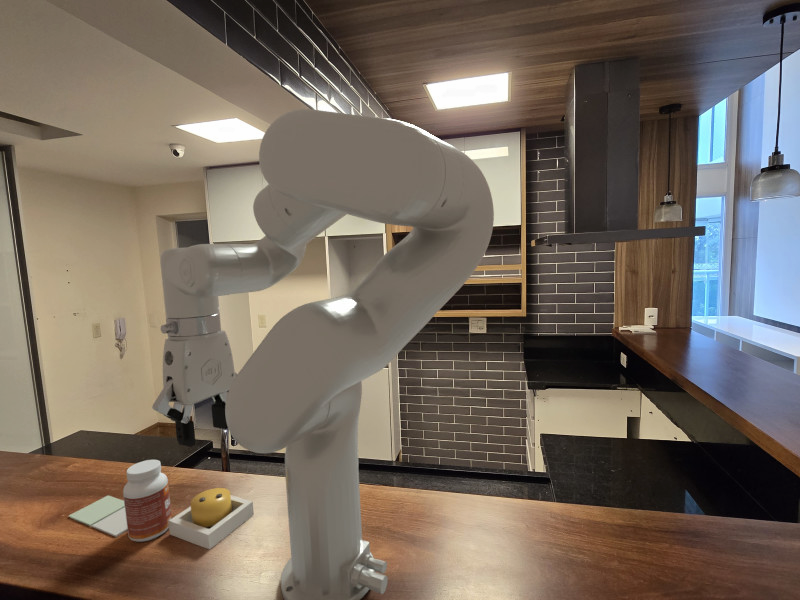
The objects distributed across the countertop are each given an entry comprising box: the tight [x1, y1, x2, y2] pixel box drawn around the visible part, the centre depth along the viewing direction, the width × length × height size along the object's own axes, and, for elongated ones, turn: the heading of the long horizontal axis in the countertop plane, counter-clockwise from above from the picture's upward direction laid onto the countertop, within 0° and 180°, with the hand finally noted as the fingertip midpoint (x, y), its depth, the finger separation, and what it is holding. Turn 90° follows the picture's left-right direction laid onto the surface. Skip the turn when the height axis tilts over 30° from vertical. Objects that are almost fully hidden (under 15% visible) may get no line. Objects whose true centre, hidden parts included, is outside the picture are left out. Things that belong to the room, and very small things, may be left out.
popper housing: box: [168, 494, 255, 550], centre depth 67 cm, size 9×9×2 cm
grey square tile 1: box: [91, 507, 128, 538], centre depth 70 cm, size 6×6×1 cm
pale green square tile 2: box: [68, 495, 125, 527], centre depth 72 cm, size 6×6×1 cm
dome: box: [190, 487, 232, 528], centre depth 67 cm, size 6×6×3 cm
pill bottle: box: [122, 459, 173, 543], centre depth 66 cm, size 6×6×11 cm
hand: (204, 435), depth 66 cm, fingers open, 5 cm apart
